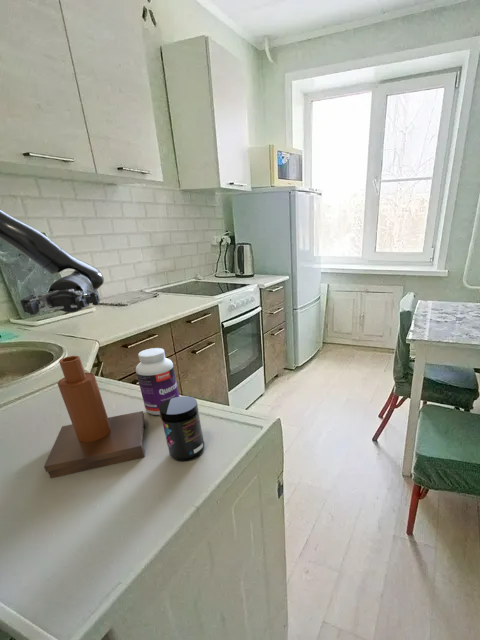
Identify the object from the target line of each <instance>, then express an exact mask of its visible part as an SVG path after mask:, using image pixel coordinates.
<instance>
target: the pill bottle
mask: <svg viewBox="0 0 480 640" xmlns="http://www.w3.org/2000/svg"><path fill="white" fill-rule="evenodd" d="M137 356H138V360H139V361H140V362H138V364H137V365H136V367H135V373H136V377H137V381H138V385H139V388H140V393H141V395H142V396H141V397H142V401H143V406H144V409H145V411H146V413H148V414H149V415H152V416H160V411H159V406H160V405H161V404H162V403H163V402H165V401H167V400H169V399H171V398H175V397H180V393H179V388H178V382H177V377H176V373H175V372H176V371H175V368H174V363H173V361H172V360H171V359H170V358H167V357H166V353H165V349H164V348H161V347H151V348H146V349H144V350H141V351H139V353H138V354H137Z"/></svg>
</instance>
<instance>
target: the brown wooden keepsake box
mask: <svg viewBox="0 0 480 640" xmlns="http://www.w3.org/2000/svg"><path fill="white" fill-rule="evenodd" d="M108 420H109V423H110V427H111V431H110V433H109V434H108V435H107V436H105V437H103V438H101V439H99V440H96V441H92V442H81V441H79V440H78V438H77V436H76V433H75V430H74V427H73V425H72V424H68V425H62V426H61V427H60V429H59V432H58V435H57V436H56V439H55V441H54V443H53V445H52V448H51V450H50V452H49V454H48V456H47V459H46V461H45V462H44V465H43V469H44V470H45V472H46V473H48V476H49V478H50V479H53V478H57V477H62V476H66V475H70V474H74V473H75V474H76V473H79V472H84V471H89V470H92V469H93V470H94V469H97V468H102V467H105V466H110V465H115V464H119V463H124V462H129V461H134V460H138V459H143V458H145V457H146V455H145V454H146V453H145V451H146V450H145V446H144V429H146V428H147V422H146V419H145V413H144V410H141V411H140V410H139V411H136V412H129V413H125V414H124V413H123V414H120V415H115V416H109V417H108Z"/></svg>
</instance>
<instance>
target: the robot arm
mask: <svg viewBox="0 0 480 640" xmlns="http://www.w3.org/2000/svg"><path fill="white" fill-rule="evenodd" d="M0 239H1V240H3V241H4V242H6V243H7V244H8V245H10V246H11V247H13V248H14V249H16V250H17V251H19V252H20V253H22V254H23V255H24V256H26V257H27V258H28V259H30V260H31V261H32V262H33V263H35V264H37V265H38V266H39V267H40V268H42V269H43V270H44V271H46V272H47V273H49V274H50V275H57V274H59V273H61V272H63V271H65V270H74V271H72V272H71V273H70V274H67V275H65V276H62V277H61V278H59V279H57V280H56V281H53V283H51V284H50V287H49V288H48V292H46V293H42V294H39V295H36V294H30V295H28V296H26V297H24V298H22V299H20V300H19V302H20V304H21V307H22V310H23V311H24V313H27V314H29V315H30V316H35V315H37V314H38V313H39V312H41V311H43V312H51V311H54V310H59V311H61V312H64V313H77V312H79V311H82V310H83V309H84V308H89V306H90V304H92V305H93V306H98V305H99V304H100V302H101V298H100V293H99V290H98V289H100V288H101V287H102V286H103V284H104V282H105V279H104V276H103V274H102V272H101V271H100V270H99V269H98V268H97V267H95V266H94V265H91V264H89V263H88V262H85V261H83V260H81V259H79V258H77V257H75V256H73V255H71V254H70V253H68V252H67V251H65V250H64V249H63V248H62V247H60V246H59V245H58V244H57V243H56V242H54V241H53V240H52V239H51V238H49V237H48V236H47V235H45V234H44V233H43V232H41V231H40V230H38V229H36V228H35V227H33V226H32V225H29V224H27V223H25V222H24V221H22V220H20V219H18V218H15V217H13V216H11V215H10V214H8V213H7V212H5V211H3V210H1V209H0Z"/></svg>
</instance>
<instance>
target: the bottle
mask: <svg viewBox="0 0 480 640" xmlns="http://www.w3.org/2000/svg"><path fill="white" fill-rule="evenodd" d="M58 363H59V365H60V368H61V371H62V374H63V377H62V378H60V379H59V380H58V382H57V383H56V384H57V387H58V390H59V392H60V395H61V397H62V400H63V403H64V406H65V408H66V411H67V413H68V416H69V419H70V421H71V425H73V427H74V430H75V433H76V436H77V438H78V440H79V441H81V442H92V441H96V440H99V439H101V438H103V437H105V436H107V435H108V434H109V433H110V431H111V427H110V423H109V420H108V418H109V417H108V413H107V411H106V408H105V404H104V401H103V397H102V395H101V391H100V388H99V385H98V382H97V378H96V376H95V374H94V373H93V372H85V369H84V366H83V363H82V359H81V356H78V355H69V356H65V357H62V358H60V359H59V360H58Z"/></svg>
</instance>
